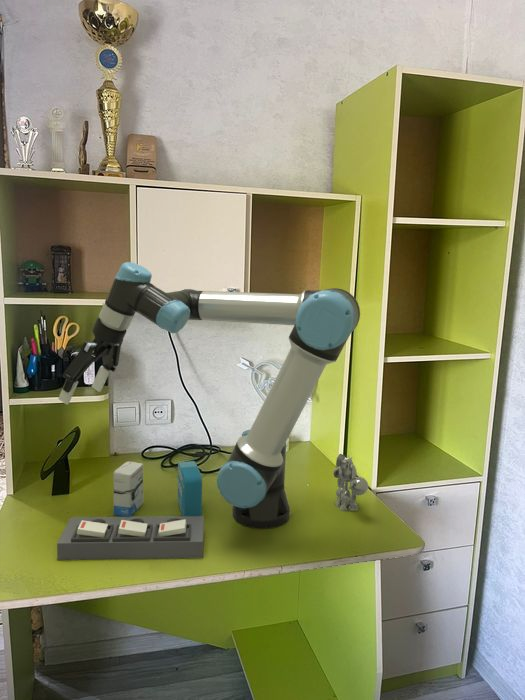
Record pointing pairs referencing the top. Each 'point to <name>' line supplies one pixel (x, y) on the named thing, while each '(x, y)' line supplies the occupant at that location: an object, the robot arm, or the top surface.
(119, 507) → the ink box
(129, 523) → the middle rocker
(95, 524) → the rocker
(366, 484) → the robot toy
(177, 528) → the rocker
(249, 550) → the top surface
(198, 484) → the data package
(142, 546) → the rocker switch panel
